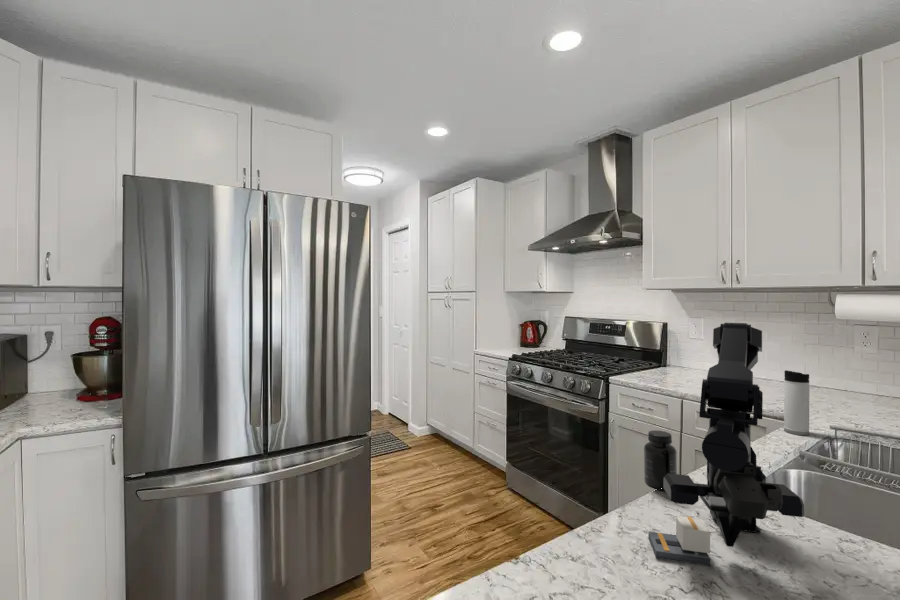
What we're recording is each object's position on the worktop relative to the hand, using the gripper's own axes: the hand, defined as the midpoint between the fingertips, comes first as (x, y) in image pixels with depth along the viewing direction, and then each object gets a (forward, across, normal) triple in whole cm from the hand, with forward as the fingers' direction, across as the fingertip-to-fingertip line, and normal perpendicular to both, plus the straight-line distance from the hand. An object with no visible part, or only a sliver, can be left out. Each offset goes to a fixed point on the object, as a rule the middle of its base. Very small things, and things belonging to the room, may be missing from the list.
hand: (728, 545), depth 69 cm
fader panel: (+2, -8, 0) cm, 8 cm away
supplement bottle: (+2, -4, +27) cm, 28 cm away
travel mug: (+2, +48, +80) cm, 93 cm away
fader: (+1, -5, 0) cm, 5 cm away
